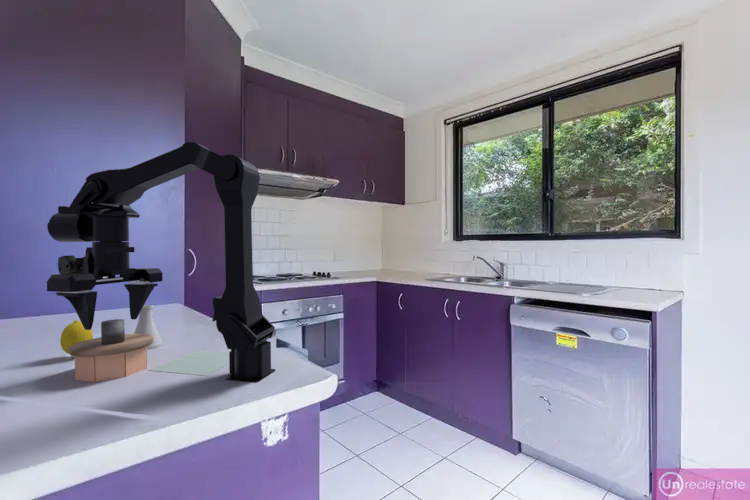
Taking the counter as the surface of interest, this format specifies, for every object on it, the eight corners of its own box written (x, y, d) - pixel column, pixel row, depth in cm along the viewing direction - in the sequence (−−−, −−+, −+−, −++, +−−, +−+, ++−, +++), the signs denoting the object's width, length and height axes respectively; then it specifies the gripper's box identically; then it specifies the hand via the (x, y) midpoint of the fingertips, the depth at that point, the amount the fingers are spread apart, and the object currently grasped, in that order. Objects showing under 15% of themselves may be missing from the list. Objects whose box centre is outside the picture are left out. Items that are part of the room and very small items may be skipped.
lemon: (75, 361, 77) (74, 323, 77) (53, 360, 78) (53, 322, 78) (99, 354, 82) (99, 318, 82) (79, 352, 83) (79, 317, 83)
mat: (248, 357, 79) (248, 354, 79) (206, 378, 66) (206, 375, 66) (197, 352, 82) (197, 350, 82) (148, 372, 70) (148, 370, 70)
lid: (168, 339, 75) (168, 316, 74) (107, 359, 62) (107, 330, 62) (117, 336, 78) (117, 313, 78) (49, 354, 65) (49, 327, 65)
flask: (170, 347, 88) (169, 305, 87) (137, 354, 81) (137, 309, 81) (154, 342, 91) (153, 302, 91) (121, 350, 85) (121, 307, 85)
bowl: (160, 365, 74) (159, 340, 74) (109, 385, 63) (108, 356, 63) (117, 361, 76) (116, 337, 76) (61, 380, 66) (61, 352, 66)
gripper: (122, 242, 81) (123, 313, 81) (21, 241, 62) (23, 333, 63) (164, 241, 78) (165, 315, 78) (71, 241, 60) (73, 337, 60)
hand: (112, 324), depth 70 cm, fingers open, 9 cm apart
